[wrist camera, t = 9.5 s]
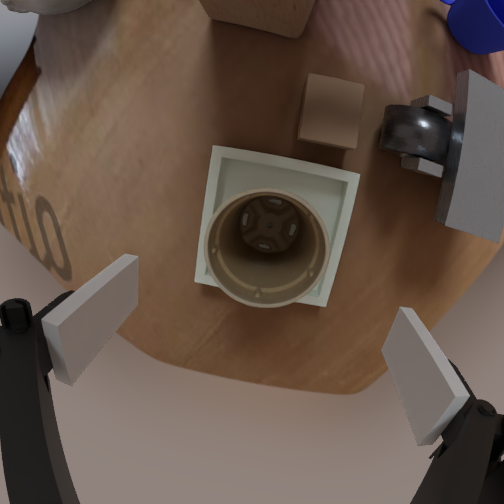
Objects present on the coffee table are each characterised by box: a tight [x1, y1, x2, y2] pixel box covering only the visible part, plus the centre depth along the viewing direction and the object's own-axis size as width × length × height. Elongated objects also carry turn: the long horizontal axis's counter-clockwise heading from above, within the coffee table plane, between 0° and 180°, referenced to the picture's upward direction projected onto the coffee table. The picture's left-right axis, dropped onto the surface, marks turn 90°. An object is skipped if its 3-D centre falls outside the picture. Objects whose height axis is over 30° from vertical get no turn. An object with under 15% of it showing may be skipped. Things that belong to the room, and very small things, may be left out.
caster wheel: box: [379, 69, 504, 243], centre depth 23 cm, size 14×12×9 cm
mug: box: [440, 0, 504, 54], centre depth 16 cm, size 8×12×10 cm
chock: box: [297, 73, 365, 150], centre depth 25 cm, size 6×5×4 cm
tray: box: [194, 145, 360, 307], centre depth 30 cm, size 14×14×2 cm
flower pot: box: [204, 187, 330, 308], centre depth 27 cm, size 9×9×9 cm
